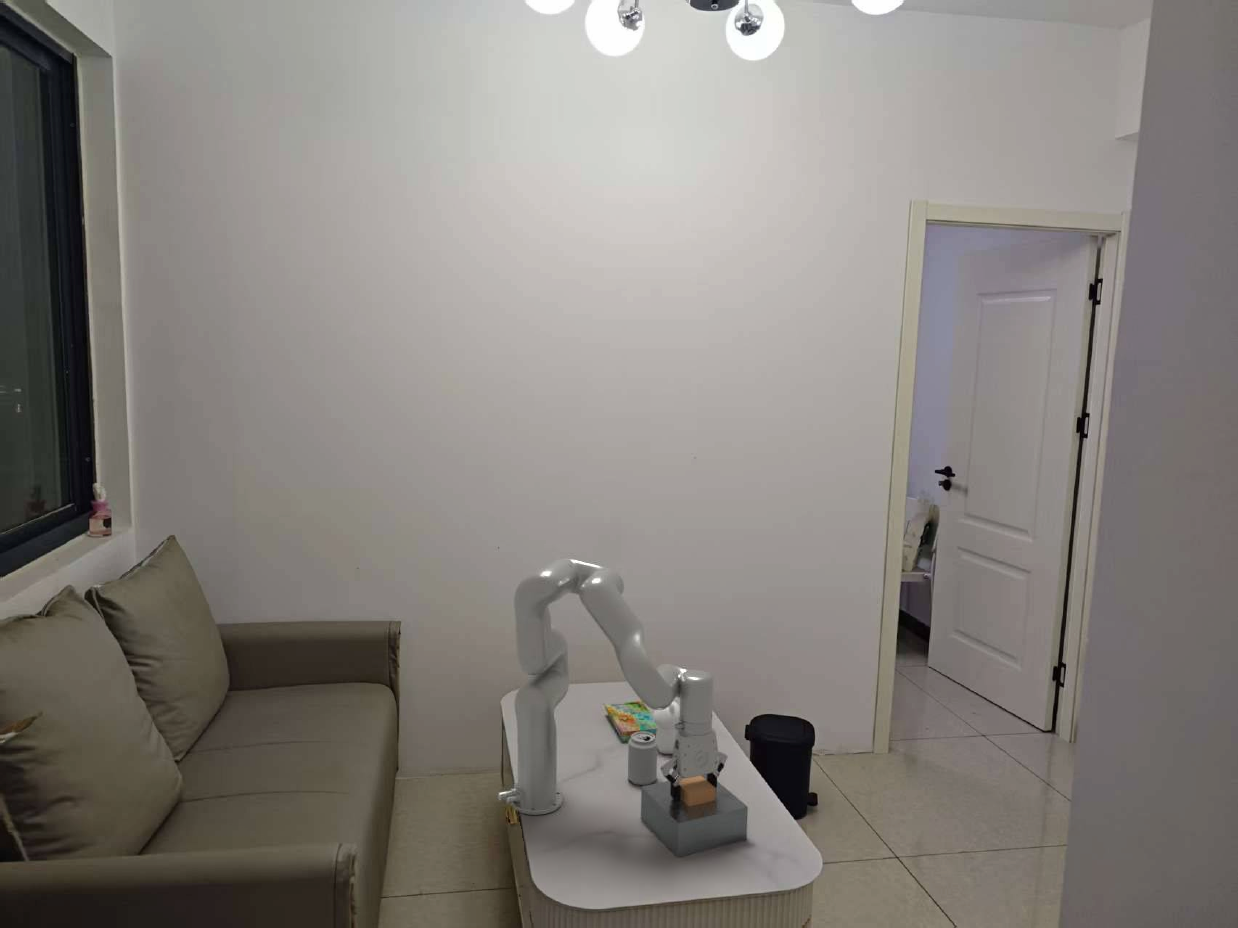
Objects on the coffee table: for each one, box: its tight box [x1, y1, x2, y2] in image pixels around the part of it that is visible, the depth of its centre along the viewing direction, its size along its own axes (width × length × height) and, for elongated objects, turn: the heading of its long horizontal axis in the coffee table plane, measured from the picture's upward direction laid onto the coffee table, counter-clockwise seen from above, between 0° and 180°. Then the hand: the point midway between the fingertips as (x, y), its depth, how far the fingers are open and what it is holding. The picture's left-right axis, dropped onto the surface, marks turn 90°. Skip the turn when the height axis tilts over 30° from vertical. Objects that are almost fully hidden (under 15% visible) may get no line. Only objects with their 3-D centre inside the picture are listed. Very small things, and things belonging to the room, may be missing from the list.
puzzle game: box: [604, 700, 659, 742], centre depth 263 cm, size 12×5×20 cm
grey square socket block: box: [640, 774, 749, 859], centre depth 207 cm, size 18×18×8 cm
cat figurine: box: [652, 701, 680, 755], centre depth 248 cm, size 9×12×15 cm
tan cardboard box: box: [679, 776, 716, 806], centre depth 207 cm, size 7×7×9 cm
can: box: [627, 732, 658, 786], centre depth 230 cm, size 8×8×12 cm
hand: (693, 795), depth 207 cm, fingers open, 9 cm apart
